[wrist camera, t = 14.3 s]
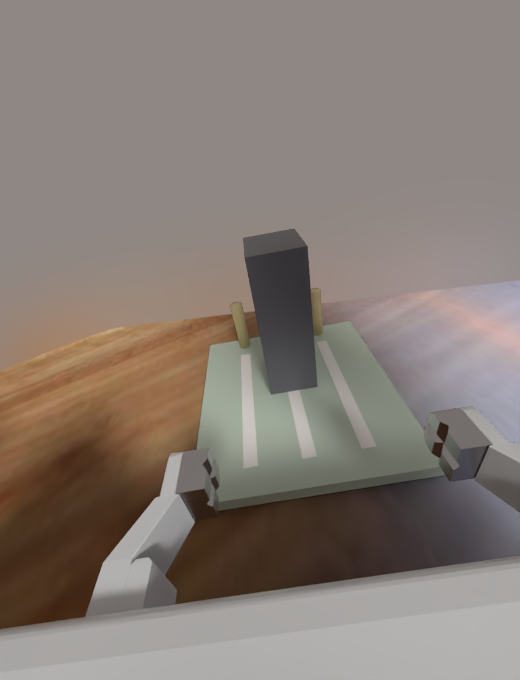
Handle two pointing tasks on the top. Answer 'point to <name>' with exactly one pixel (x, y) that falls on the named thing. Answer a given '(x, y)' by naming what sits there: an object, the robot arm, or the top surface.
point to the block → (283, 308)
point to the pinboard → (307, 421)
